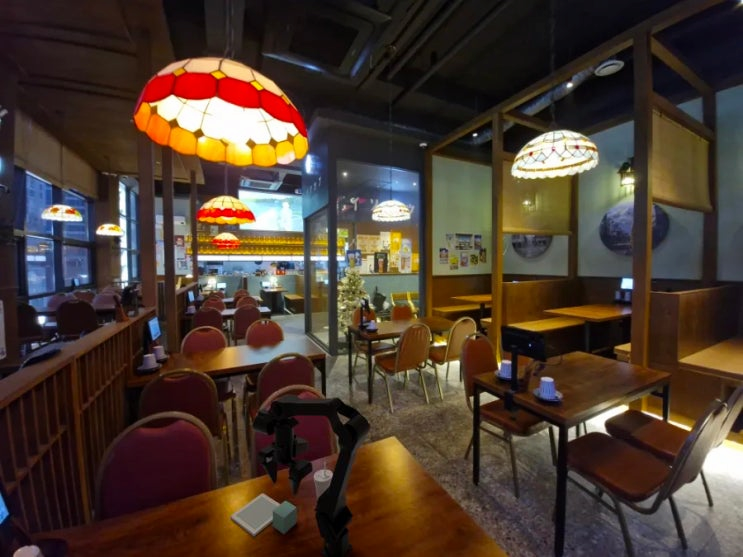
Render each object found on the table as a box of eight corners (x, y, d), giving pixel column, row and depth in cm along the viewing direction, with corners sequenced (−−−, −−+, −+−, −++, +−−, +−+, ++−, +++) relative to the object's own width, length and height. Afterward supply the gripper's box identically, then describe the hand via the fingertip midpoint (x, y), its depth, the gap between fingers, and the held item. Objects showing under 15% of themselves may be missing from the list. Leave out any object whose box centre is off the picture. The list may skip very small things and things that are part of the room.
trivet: (286, 510, 102) (286, 507, 102) (254, 536, 92) (254, 533, 92) (262, 495, 108) (262, 492, 108) (230, 518, 98) (230, 515, 98)
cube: (296, 523, 97) (296, 507, 97) (283, 534, 93) (283, 518, 93) (285, 515, 100) (285, 500, 100) (272, 526, 96) (272, 510, 95)
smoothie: (329, 512, 101) (329, 469, 101) (310, 509, 102) (310, 467, 102) (335, 497, 107) (335, 457, 107) (317, 495, 109) (317, 455, 108)
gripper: (324, 435, 97) (325, 484, 97) (284, 419, 107) (284, 464, 108) (297, 453, 88) (298, 507, 88) (255, 433, 98) (256, 482, 98)
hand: (284, 488), depth 96 cm, fingers open, 9 cm apart
